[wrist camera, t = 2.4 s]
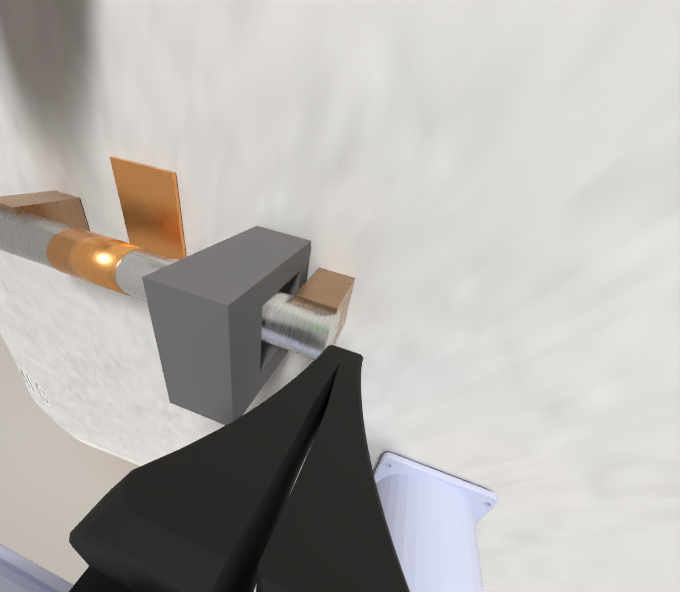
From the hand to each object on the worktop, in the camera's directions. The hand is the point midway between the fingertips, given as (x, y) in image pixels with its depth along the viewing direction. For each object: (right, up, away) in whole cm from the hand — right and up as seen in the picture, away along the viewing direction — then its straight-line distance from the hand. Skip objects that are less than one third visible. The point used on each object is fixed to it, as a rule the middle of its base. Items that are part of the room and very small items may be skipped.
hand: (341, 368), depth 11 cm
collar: (-3, +4, +5) cm, 7 cm away
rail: (-9, +5, +6) cm, 12 cm away
